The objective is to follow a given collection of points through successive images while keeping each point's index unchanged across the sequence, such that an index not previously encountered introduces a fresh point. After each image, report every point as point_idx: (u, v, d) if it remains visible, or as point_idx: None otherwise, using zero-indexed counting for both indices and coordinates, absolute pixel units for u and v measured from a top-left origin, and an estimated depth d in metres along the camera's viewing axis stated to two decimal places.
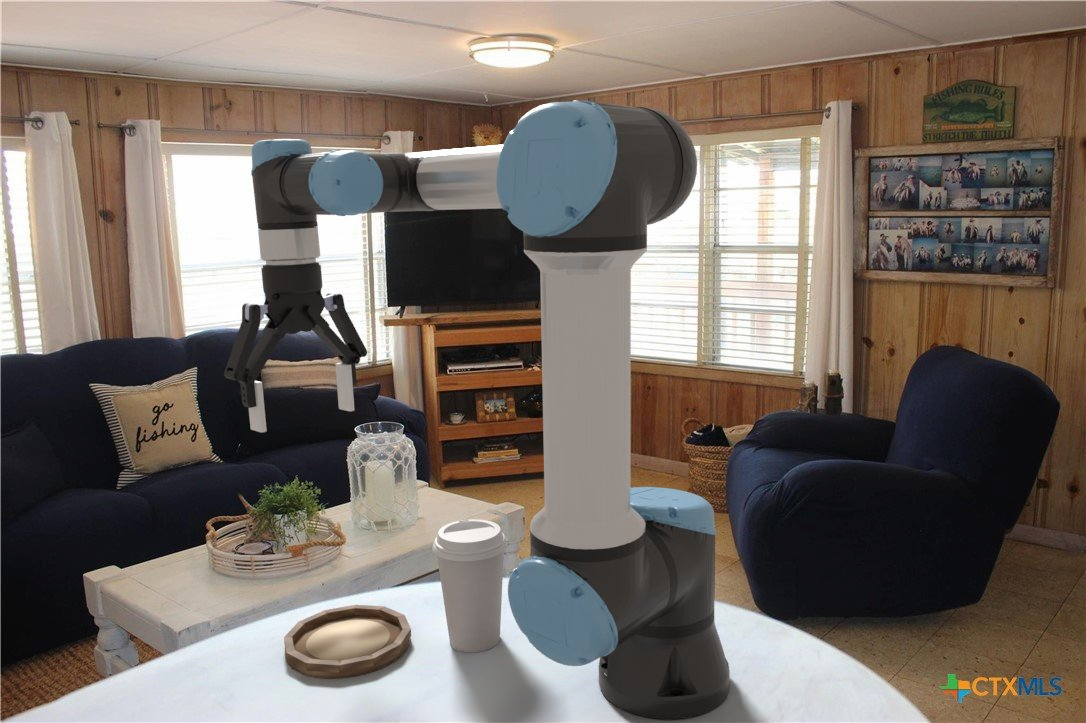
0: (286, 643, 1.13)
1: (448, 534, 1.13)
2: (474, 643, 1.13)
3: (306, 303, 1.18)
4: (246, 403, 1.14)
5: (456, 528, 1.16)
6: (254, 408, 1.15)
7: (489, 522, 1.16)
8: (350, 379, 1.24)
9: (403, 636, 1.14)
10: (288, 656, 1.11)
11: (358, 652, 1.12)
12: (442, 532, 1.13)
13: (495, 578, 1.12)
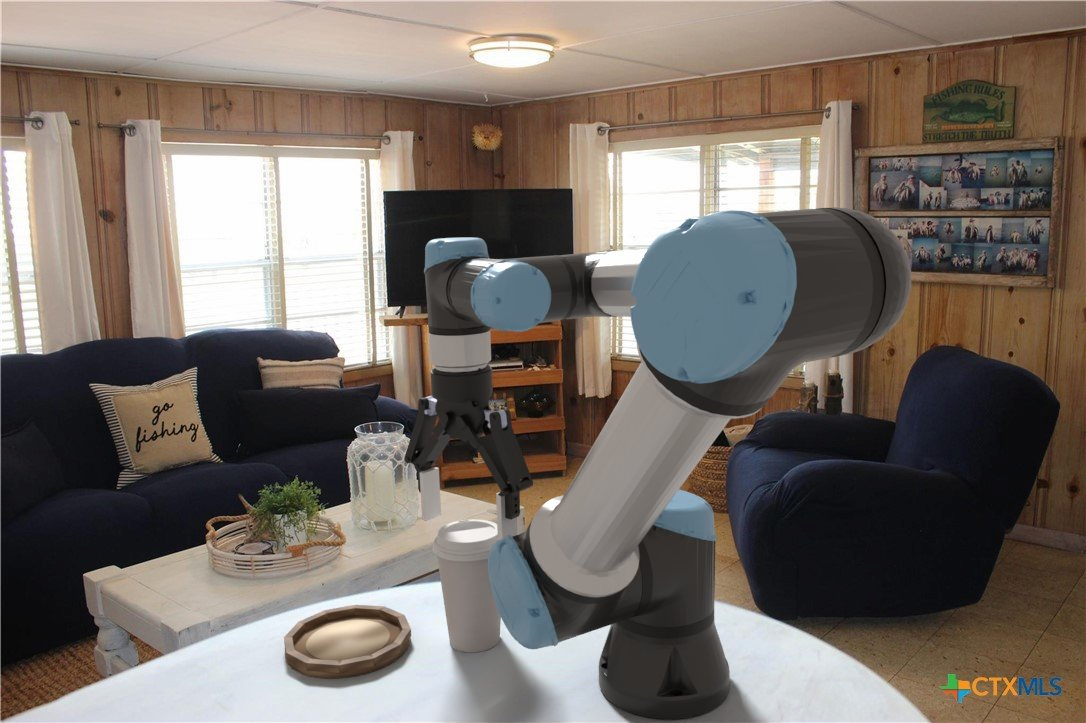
0: (286, 643, 1.13)
1: (448, 534, 1.13)
2: (474, 643, 1.13)
3: (462, 412, 1.09)
4: (420, 487, 1.18)
5: (456, 528, 1.16)
6: None
7: (489, 522, 1.16)
8: (499, 510, 1.08)
9: (403, 636, 1.14)
10: (288, 656, 1.11)
11: (358, 652, 1.12)
12: (442, 532, 1.13)
13: None
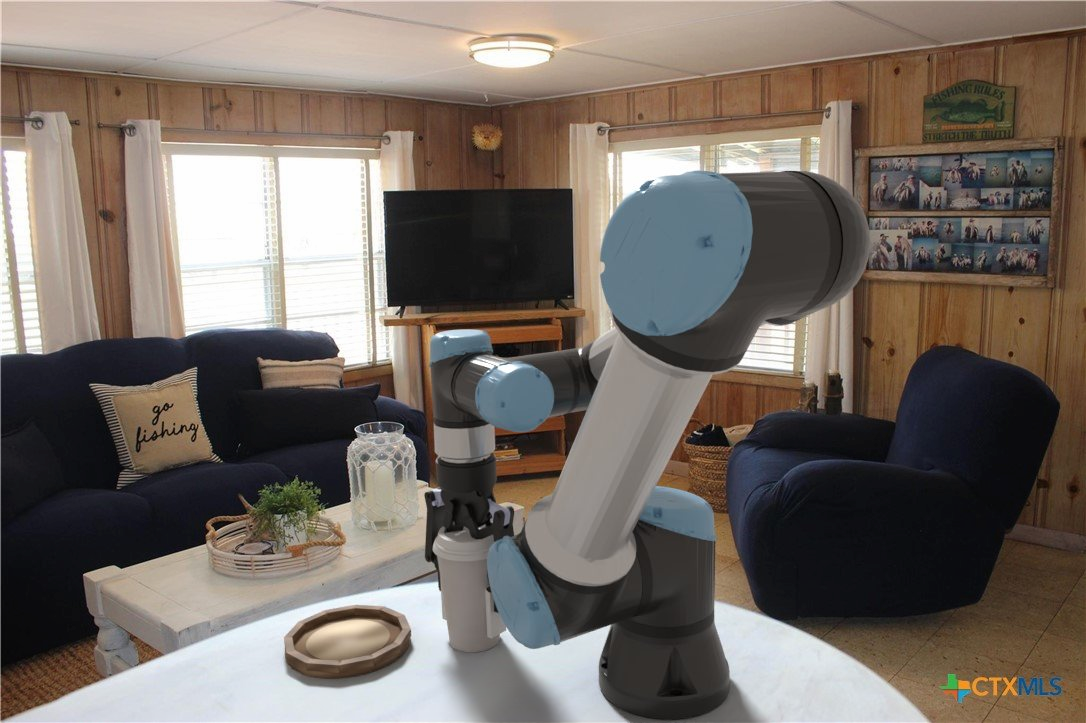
0: (286, 643, 1.13)
1: (448, 534, 1.13)
2: (474, 643, 1.13)
3: (468, 496, 1.11)
4: None
5: None
6: None
7: None
8: (488, 604, 1.11)
9: (403, 636, 1.14)
10: (288, 656, 1.11)
11: (358, 652, 1.12)
12: (442, 532, 1.13)
13: None
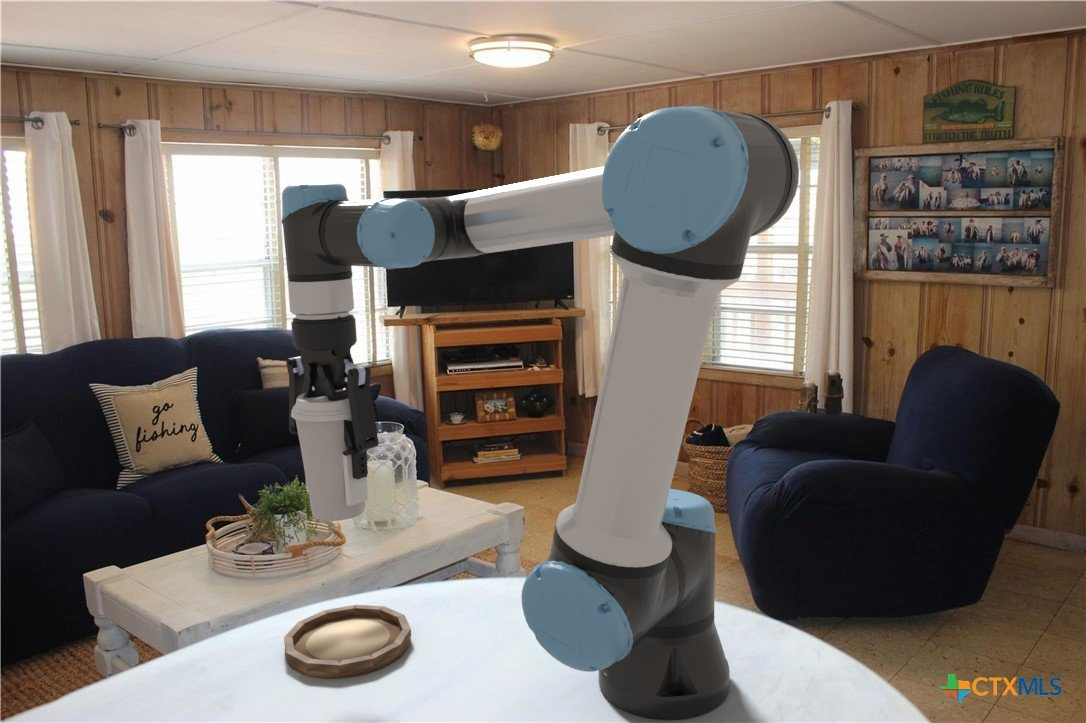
0: (286, 643, 1.13)
1: (307, 398, 1.09)
2: (333, 511, 1.09)
3: (324, 357, 1.07)
4: None
5: None
6: None
7: None
8: (346, 470, 1.08)
9: (403, 636, 1.14)
10: (288, 656, 1.11)
11: (358, 652, 1.12)
12: (301, 396, 1.09)
13: None
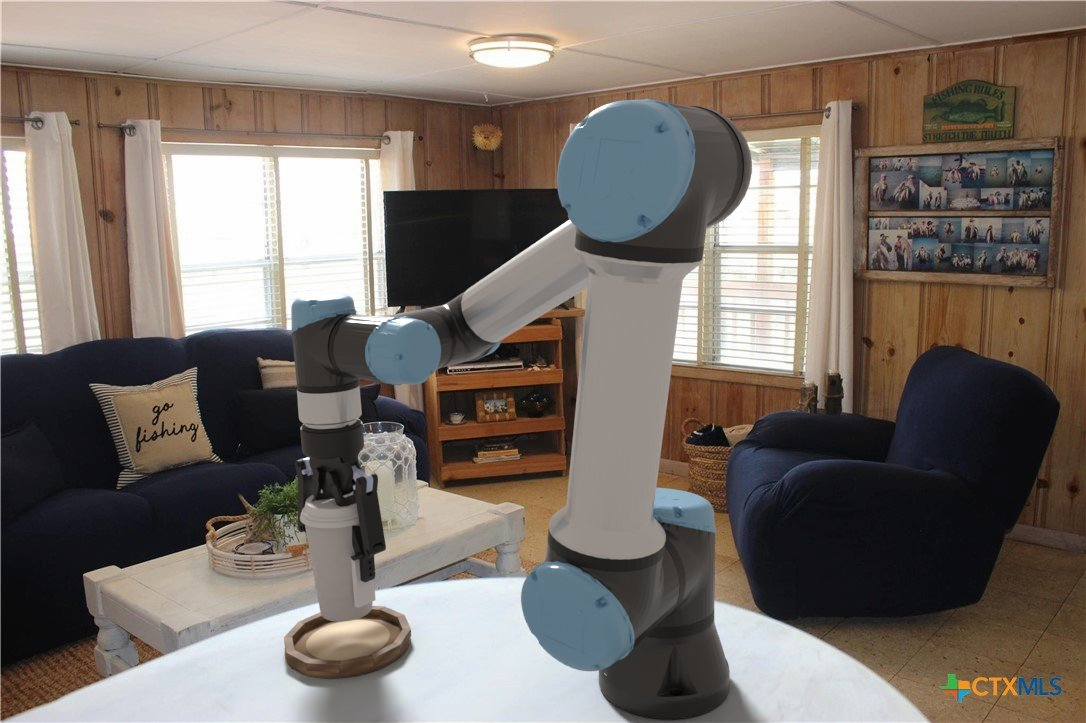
0: (286, 643, 1.13)
1: (316, 502, 1.12)
2: (342, 612, 1.11)
3: (333, 463, 1.09)
4: None
5: None
6: None
7: None
8: (354, 573, 1.10)
9: (403, 636, 1.14)
10: (288, 656, 1.11)
11: (358, 652, 1.12)
12: (310, 500, 1.12)
13: (362, 546, 1.11)
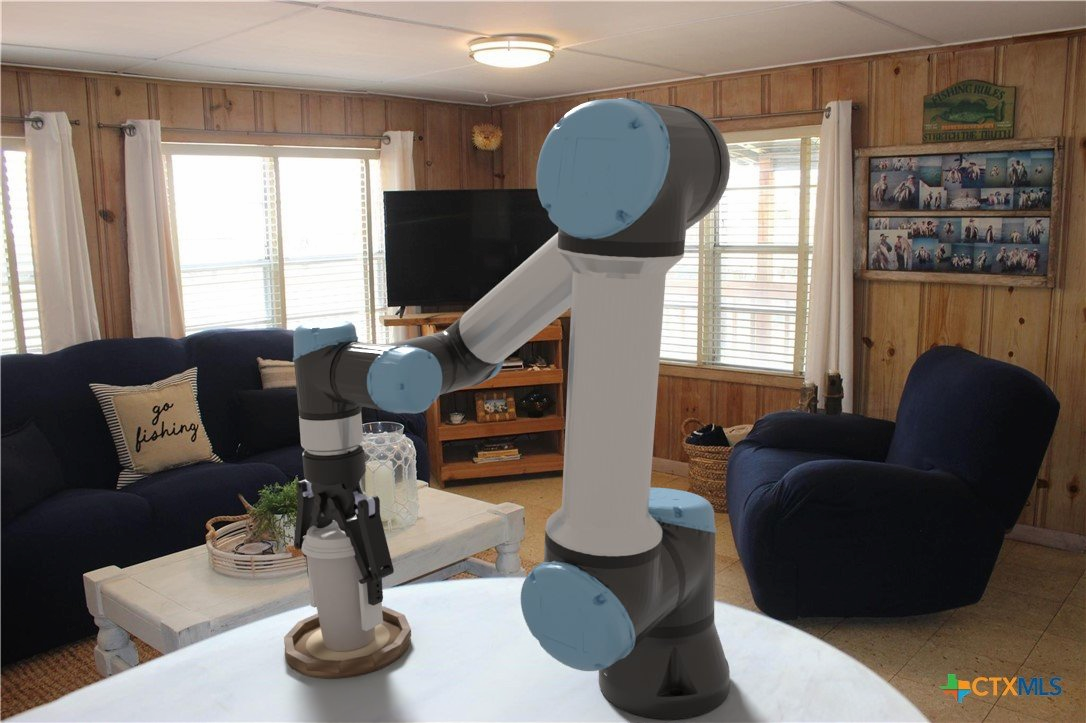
0: (286, 643, 1.13)
1: (317, 532, 1.13)
2: (344, 642, 1.12)
3: (334, 490, 1.10)
4: None
5: (329, 526, 1.16)
6: None
7: None
8: (362, 596, 1.10)
9: (403, 636, 1.14)
10: (288, 656, 1.11)
11: (358, 652, 1.12)
12: (311, 530, 1.13)
13: None
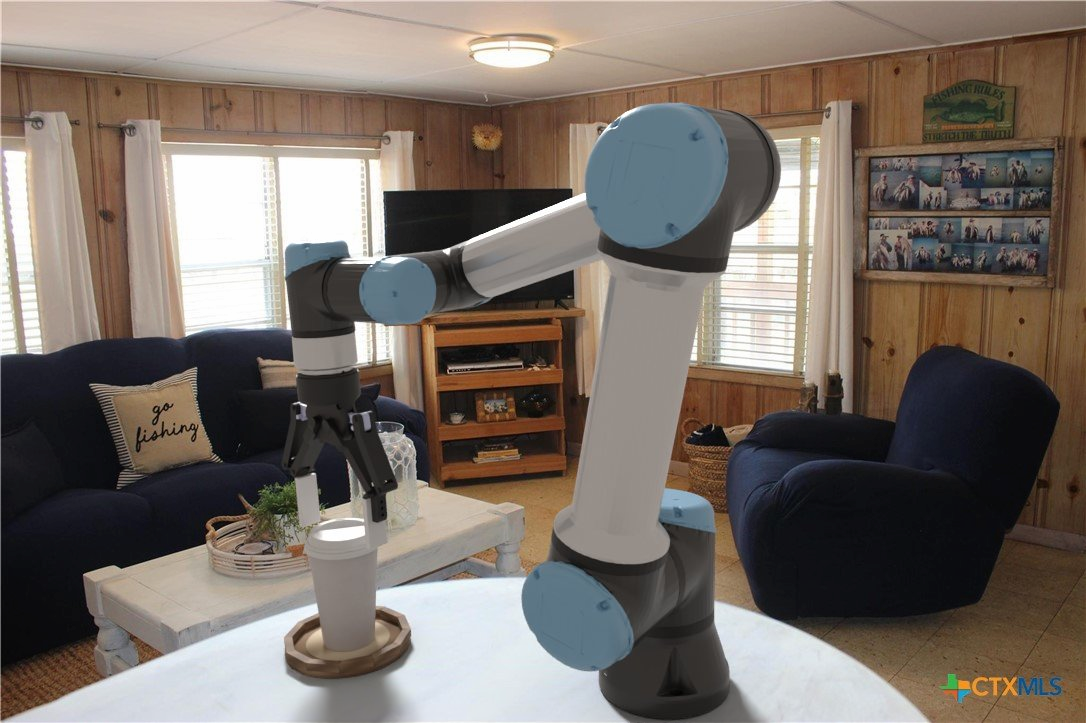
0: (286, 643, 1.13)
1: (320, 532, 1.12)
2: (344, 642, 1.12)
3: (329, 415, 1.08)
4: None
5: (331, 526, 1.16)
6: None
7: None
8: (365, 513, 1.06)
9: (403, 636, 1.14)
10: (288, 656, 1.11)
11: (358, 652, 1.12)
12: (314, 530, 1.12)
13: (366, 577, 1.11)
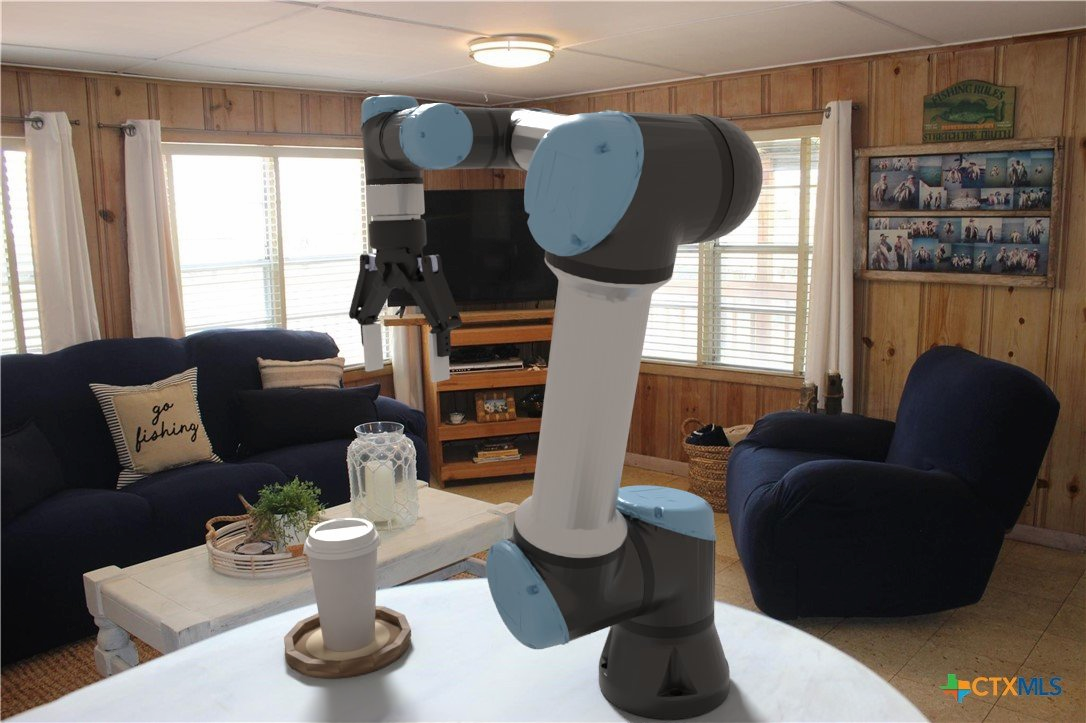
0: (286, 643, 1.13)
1: (319, 532, 1.13)
2: (344, 642, 1.12)
3: (398, 260, 1.18)
4: None
5: (331, 526, 1.16)
6: None
7: (364, 521, 1.15)
8: (431, 348, 1.17)
9: (403, 636, 1.14)
10: (288, 656, 1.11)
11: (358, 652, 1.12)
12: (313, 530, 1.13)
13: (365, 577, 1.11)
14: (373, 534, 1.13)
